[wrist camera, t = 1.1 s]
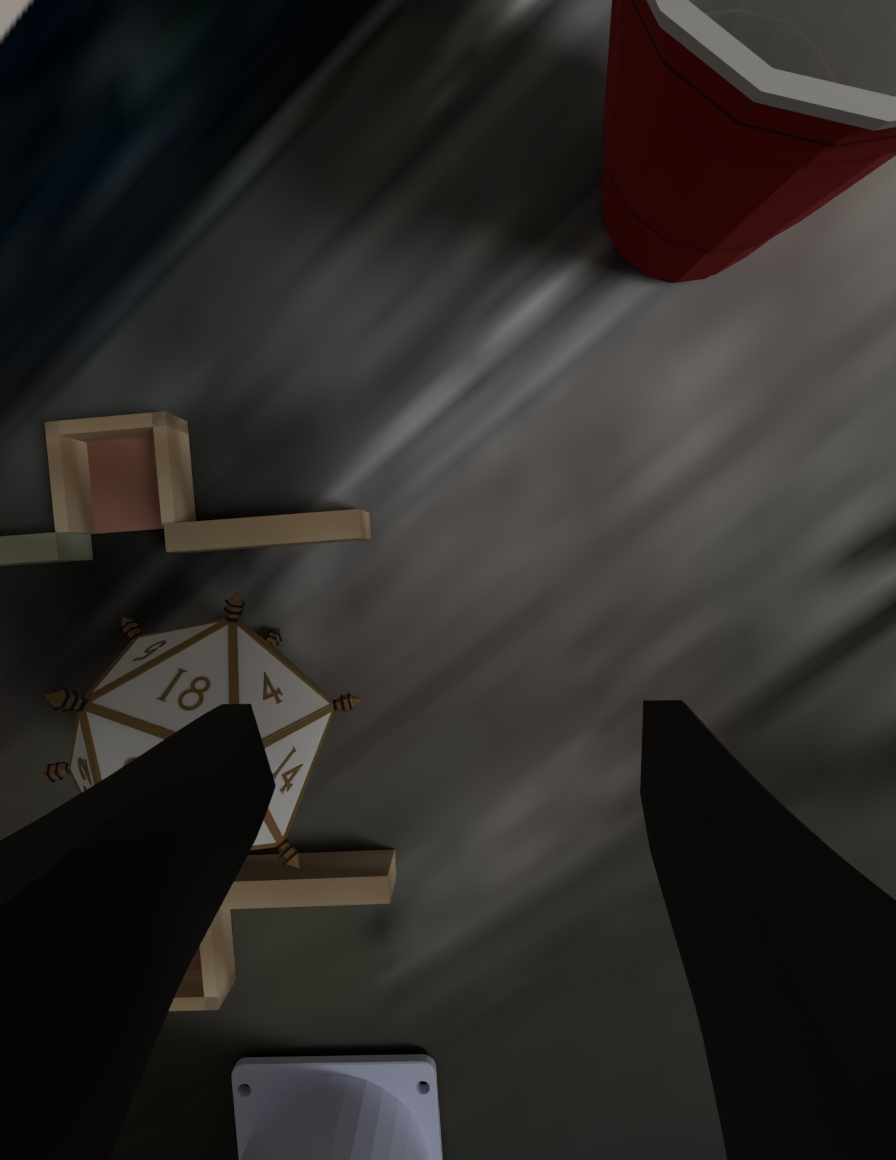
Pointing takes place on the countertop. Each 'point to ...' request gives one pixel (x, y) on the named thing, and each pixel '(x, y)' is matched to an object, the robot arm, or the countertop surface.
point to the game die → (202, 708)
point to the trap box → (166, 501)
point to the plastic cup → (738, 122)
